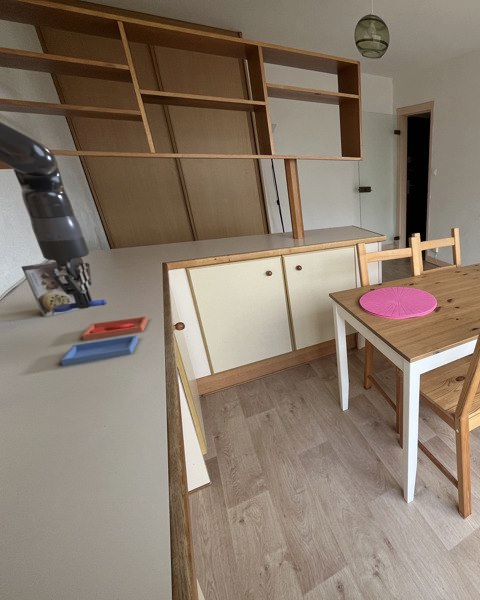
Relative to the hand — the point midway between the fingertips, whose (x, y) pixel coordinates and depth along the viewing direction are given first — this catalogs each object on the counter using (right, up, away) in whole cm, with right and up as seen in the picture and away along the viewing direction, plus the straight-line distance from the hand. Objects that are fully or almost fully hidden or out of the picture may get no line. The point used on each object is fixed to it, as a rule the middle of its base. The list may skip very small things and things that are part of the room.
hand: (86, 306), depth 78 cm
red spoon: (-7, -8, +15) cm, 19 cm away
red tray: (-7, -8, +16) cm, 19 cm away
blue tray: (0, -13, +5) cm, 13 cm away
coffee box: (-36, -2, +28) cm, 45 cm away
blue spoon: (-1, 0, 0) cm, 1 cm away
